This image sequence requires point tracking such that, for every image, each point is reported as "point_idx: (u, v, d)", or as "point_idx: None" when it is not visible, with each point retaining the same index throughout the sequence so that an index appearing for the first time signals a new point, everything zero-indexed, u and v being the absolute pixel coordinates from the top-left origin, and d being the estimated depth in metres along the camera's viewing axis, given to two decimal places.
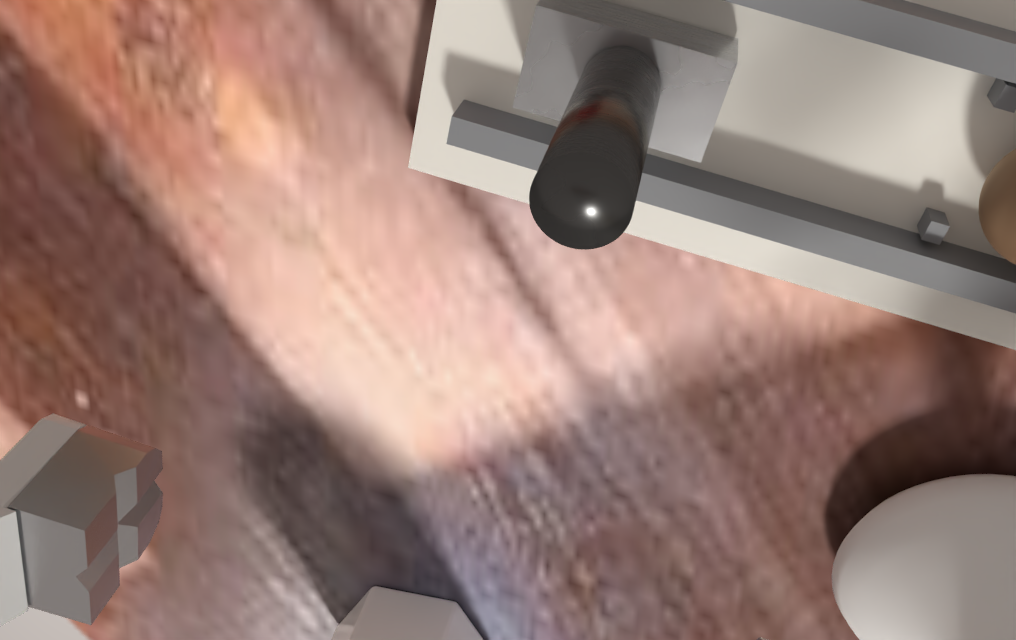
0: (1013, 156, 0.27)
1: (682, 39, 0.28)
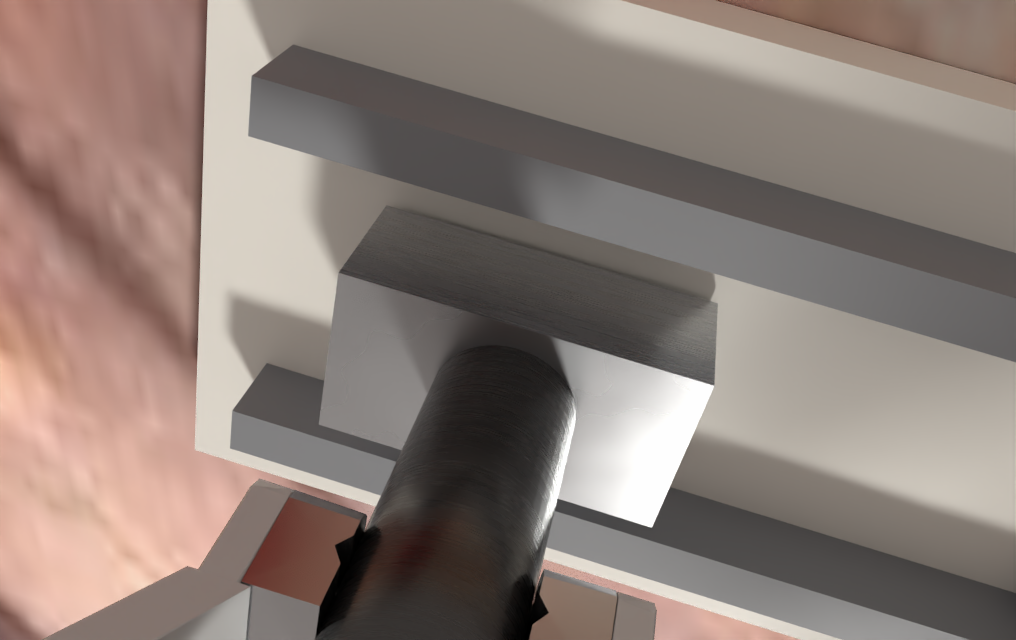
0: None
1: (613, 328, 0.15)
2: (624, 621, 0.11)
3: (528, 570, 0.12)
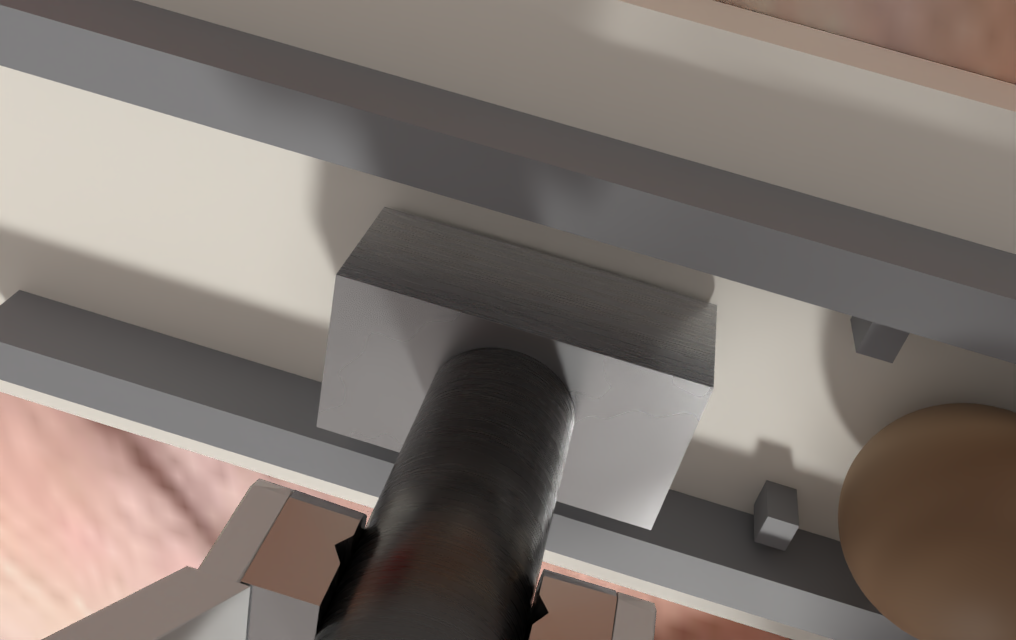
0: (890, 445, 0.15)
1: (612, 329, 0.15)
2: (624, 621, 0.11)
3: (526, 574, 0.12)
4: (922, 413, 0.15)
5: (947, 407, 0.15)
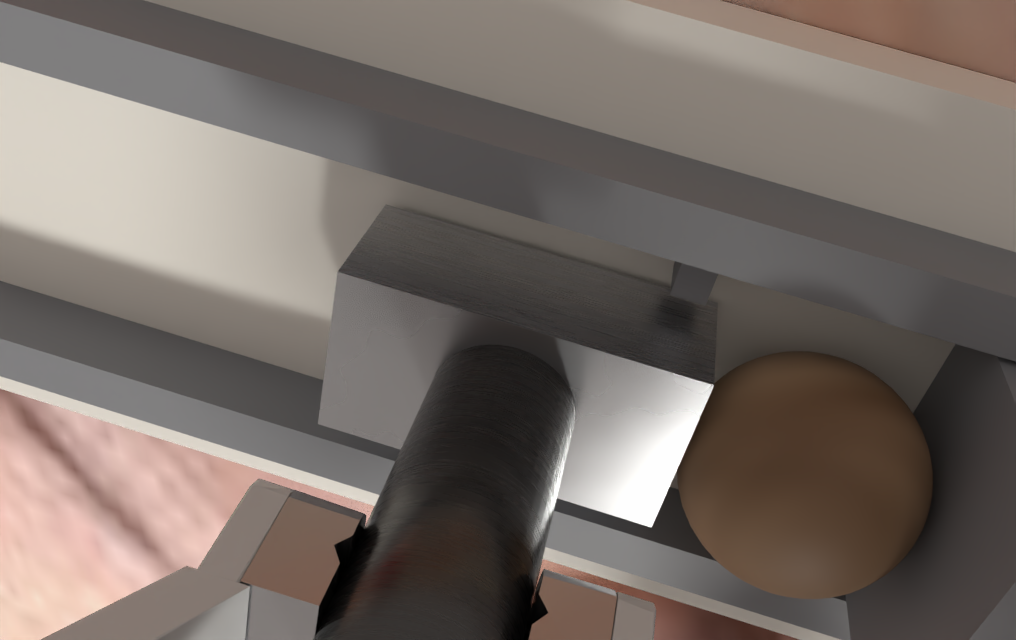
0: (718, 401, 0.15)
1: (613, 327, 0.15)
2: (623, 621, 0.11)
3: (527, 570, 0.12)
4: (748, 365, 0.15)
5: (771, 357, 0.15)
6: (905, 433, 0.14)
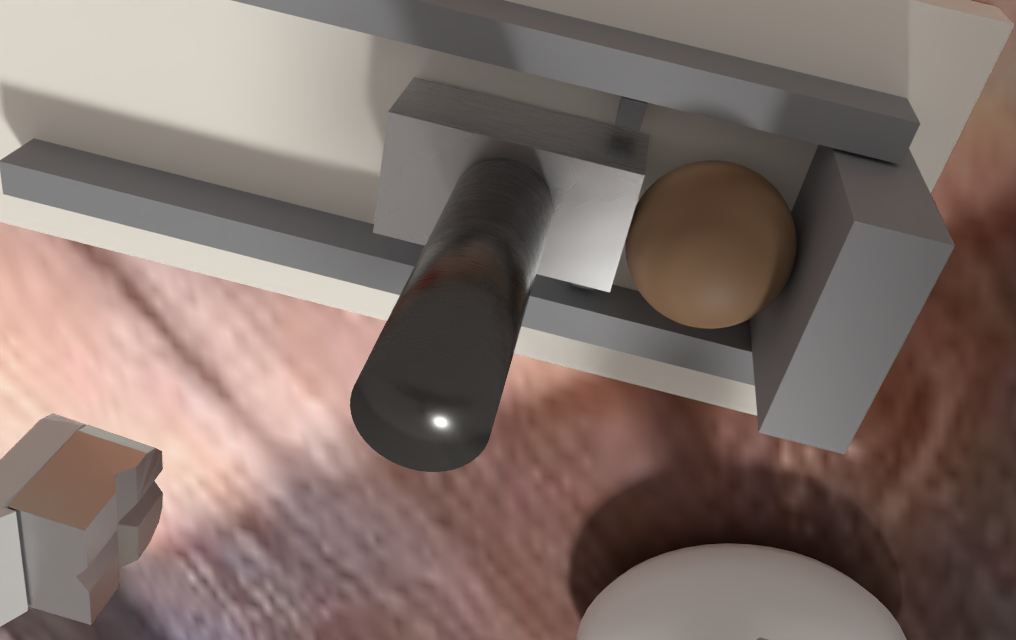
0: (650, 193, 0.22)
1: (576, 145, 0.22)
2: None
3: (525, 270, 0.19)
4: (670, 171, 0.22)
5: (686, 164, 0.22)
6: (773, 201, 0.21)
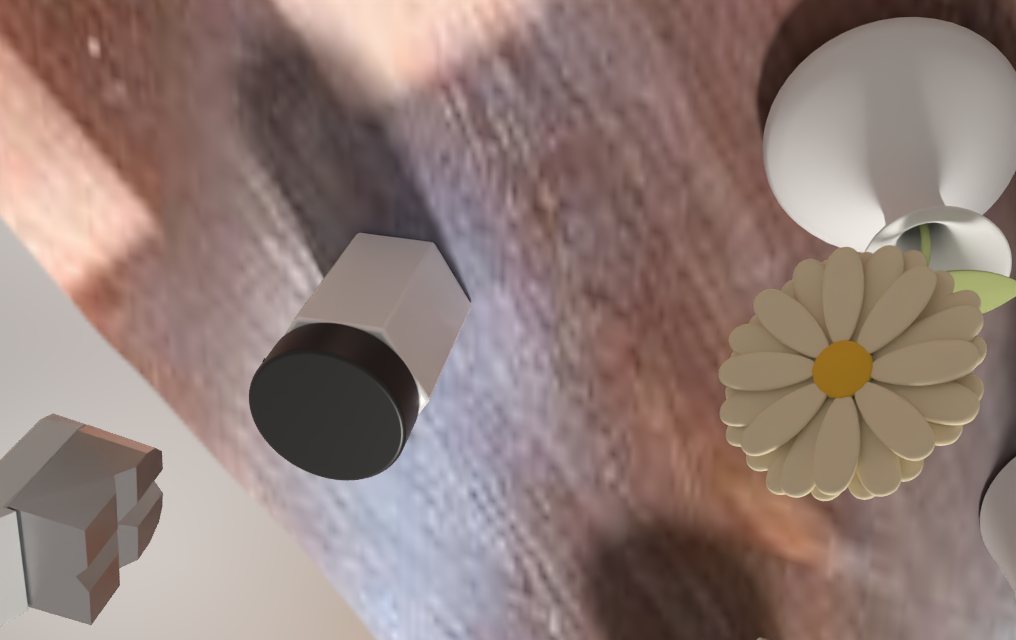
0: None
1: None
2: None
3: None
4: None
5: None
6: None
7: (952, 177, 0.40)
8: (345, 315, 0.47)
